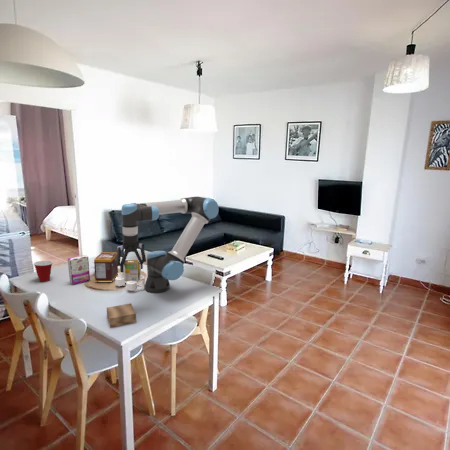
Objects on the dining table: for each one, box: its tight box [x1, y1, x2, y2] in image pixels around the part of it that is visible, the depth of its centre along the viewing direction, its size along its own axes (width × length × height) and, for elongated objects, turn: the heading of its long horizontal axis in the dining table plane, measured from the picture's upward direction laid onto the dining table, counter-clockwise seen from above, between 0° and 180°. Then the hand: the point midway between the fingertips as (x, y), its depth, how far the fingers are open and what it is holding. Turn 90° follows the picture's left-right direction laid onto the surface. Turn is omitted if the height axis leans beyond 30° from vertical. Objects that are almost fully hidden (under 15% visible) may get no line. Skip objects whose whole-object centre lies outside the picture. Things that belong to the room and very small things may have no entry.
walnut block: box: [106, 302, 137, 329], centre depth 156 cm, size 12×12×5 cm
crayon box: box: [124, 259, 141, 282], centre depth 166 cm, size 7×3×12 cm, turn 92°
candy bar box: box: [67, 254, 91, 286], centre depth 200 cm, size 11×5×16 cm, turn 135°
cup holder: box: [114, 272, 146, 293], centre depth 194 cm, size 20×11×7 cm, turn 54°
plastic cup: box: [32, 260, 54, 283], centre depth 202 cm, size 11×11×12 cm
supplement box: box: [93, 251, 119, 281], centre depth 207 cm, size 10×15×16 cm
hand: (132, 276), depth 167 cm, fingers closed on crayon box, 8 cm apart
